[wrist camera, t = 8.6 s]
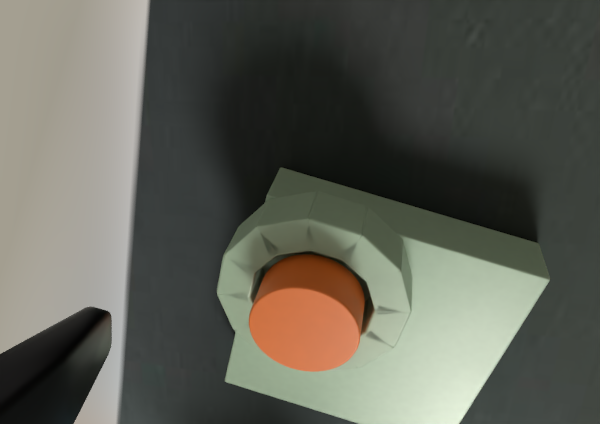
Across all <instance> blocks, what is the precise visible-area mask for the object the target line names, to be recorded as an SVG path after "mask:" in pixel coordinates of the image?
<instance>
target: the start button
mask: <svg viewBox="0 0 600 424" xmlns="http://www.w3.org/2000/svg"><path fill="white" fill-rule="evenodd" d="M364 306H365V297H364V293H363V290H362V287H361V285H360V283H359V282H358V280H357V279H356V277H355V276H354V275H353V274H352V273H351V272H350V271H349V270H348V269H347V268H345V267H344V266H343V265H341V264H339V263H338V262H336V261H334V260H332V259H329V258H326V257H322V256H318V255H311V254H302V255H294V256H290V257H287V258H284V259H282V260H280V261H278V262H277V263H275V264H274V265H273V266H272V267H271V268H269V270H268V271H267V272H266V274H265V276H264V278H263V280H262V283H261V285H260V288H259V290H258V293H257V295H256V298H255V300H254V303H253V305H252V308H251V311H250V314H249V328H250V332H251V335H252V337H253V339H254V341H255V343H256V344H257V346H258V347H259V348H260V349H261V350H262V351H263V352H264V353H265V354H266V355H267V356H268V357H270V358H271V359H273V360H274V361H276V362H278V363H280V364H282V365H284V366H286V367H289V368H292V369H296V370H301V371H309V372H319V371H326V370H330V369H334V368H336V367H339V366H341V365H343V364H344V363H345V362H347V361H348V360H349V359H350V358H351V357H352V356H353V355H354V353H355V352H356V350H357V348H358V346H359V343H360V336H361V328H362V321H363V313H364Z"/></svg>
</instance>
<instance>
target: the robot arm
mask: <svg viewBox="0 0 600 424" xmlns="http://www.w3.org/2000/svg"><path fill="white" fill-rule="evenodd" d="M111 338H112V337H111V314H110V313H109V312H108V311H106V310H102V309H98V308H95V307H87V308H84V309H82V310H81V311H79V312H77V313H75V314H73V315H71V316H69V317H68V318H66V319H64V320H62V321H60V322H58V323H57V324H55V325H53V326H51V327H49V328H47V329H46V330H44V331H42V332H40V333H38V334H36V335H35V336H33V337H31V338H29V339H27V340H25V341H24V342H22V343H20V344H18V345H16V346H14V347H12V348H11V349H9V350H7V351H5V352H3V353H2V354H0V424H73V423H74V422H75V420H76V417H77V416H78V414H79V412H80V410H81V408H82V406H83V404H84V402H85V400H86V398H87V396H88V394H89V392H90V390H91V388H92V386H93V384H94V382H95V380H96V378H97V376H98V374H99V372H100V370H101V368H102V366H103V364H104V362H105V360H106V358H107V356H108V353H109V351H110V348H111Z"/></svg>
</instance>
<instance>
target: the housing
mask: <svg viewBox="0 0 600 424" xmlns="http://www.w3.org/2000/svg"><path fill="white" fill-rule="evenodd" d="M302 254H311V255H318V256H322V257H326V258H329V259H332V260H334V261H336V262H338V263H339V264H341V265H343V266H344V267H345V268H347V269H348V270H349V271H350V272H351V273H352V274H353V275H354V276H355V277H356V279H357V280H358V282H359V283H360V285H361V287H362V290H363V293H364V297H365V306H364V313H363V321H362V328H361V336H360V343H359V346H358V348H357V350H356V352H355V353H354V355H353V356H352V357H351V358H350V359H349V360H348V361H347V362H345V363H344V364H343V365H341V366H339V367H336V368H334V369H330V370H326V371H319V372H309V371H301V370H296V369H292V368H289V367H286V366H284V365H282V364H280V363H278V362H276V361H274V360H273V359H271V358H270V357H268V356H267V355H266V354H265V353H264V352H263V351H262V350H261V349H260V348H259V347H258V346H257V344H256V343H255V341H254V339H253V337H252V335H251V332H250V328H249V314H250V311H251V308H252V305H253V303H254V300H255V298H256V295H257V293H258V290H259V288H260V285H261V283H262V280H263V278H264V276H265V274H266V272H267V271H268V270H269V268H271V267H272V266H273V265H274V264H275V263H277V262H278V261H280V260H282V259H284V258H287V257H290V256H294V255H302ZM549 281H550V277H549V274H548V271H547V268H546V265H545V261H544V258H543V255H542V252H541V249H540V246H539V244H538V243H536V242H532V241H529V240H525V239H522V238H519V237H515V236H512V235H508V234H505V233H502V232H498V231H495V230H492V229H488V228H485V227H481V226H478V225H475V224H471V223H468V222H464V221H461V220H458V219H454V218H451V217H448V216H444V215H441V214H437V213H434V212H431V211H427V210H424V209H421V208H417V207H414V206H410V205H407V204H404V203H400V202H397V201H393V200H390V199H387V198H383V197H380V196H377V195H373V194H370V193H366V192H363V191H360V190H356V189H353V188H349V187H346V186H343V185H339V184H336V183H333V182H329V181H326V180H322V179H319V178H316V177H312V176H309V175H305V174H302V173H299V172H295V171H292V170H289V169H285V168H282V167H281V168H280V169H279V171H278V173H277V175H276V177H275V179H274V181H273V183H272V185H271V187H270V189H269V192H268V194H267V196H266V200H265V203H264V204H263V205H262V206H261V207H260V208H259V209H258V210H256V211H255V212H254V213H253V214H252V215H251V216H250V217H249V218H247V219H246V220H245V221H244V222H243V223H242V224H241V225H240V226H239V227H238V228H237V230H236V232H235V234H234V236H233V238H232V240H231V242H230V244H229V246H228V248H227V250H226V251H225V253H224V255H223V260H222V265H221V270H220V275H219V281H218V286H217V295H218V297H219V300H220V302H221V304H222V306H223V308H224V310H225V313H226V315H227V317H228V319H229V321H230V324H231V326H232V328H233V329H234V330H235V337H234V341H233V346H232V350H231V355H230V359H229V363H228V368H227V372H226V377H225V382H227V383H231V384H234V385H237V386H240V387H243V388H247V389H250V390H253V391H256V392H259V393H263V394H266V395H269V396H272V397H275V398H279V399H282V400H285V401H288V402H291V403H295V404H298V405H301V406H304V407H307V408H311V409H314V410H317V411H320V412H323V413H327V414H330V415H333V416H336V417H340V418H343V419H346V420H349V421H352V422H356V423H359V424H459V423H460V422H461V420H462V419H463V417H464V416H465V414H466V412H467V411H468V409H469V408H470V406H471V404H472V403H473V401H474V400H475V398H476V397H477V395H478V393H479V392H480V390H481V389H482V387H483V385H484V384H485V382H486V381H487V379H488V377H489V376H490V374H491V373H492V371H493V370H494V368H495V366H496V365H497V363H498V362H499V360H500V358H501V357H502V355H503V354H504V352H505V351H506V349H507V347H508V346H509V344H510V343H511V341H512V339H513V338H514V336H515V335H516V333H517V331H518V330H519V328H520V327H521V325H522V324H523V322H524V320H525V319H526V317H527V316H528V314H529V312H530V311H531V309H532V308H533V306H534V305H535V303H536V301H537V300H538V298H539V297H540V295H541V293H542V292H543V290H544V289H545V287H546V285H547V284H548V282H549Z"/></svg>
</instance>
